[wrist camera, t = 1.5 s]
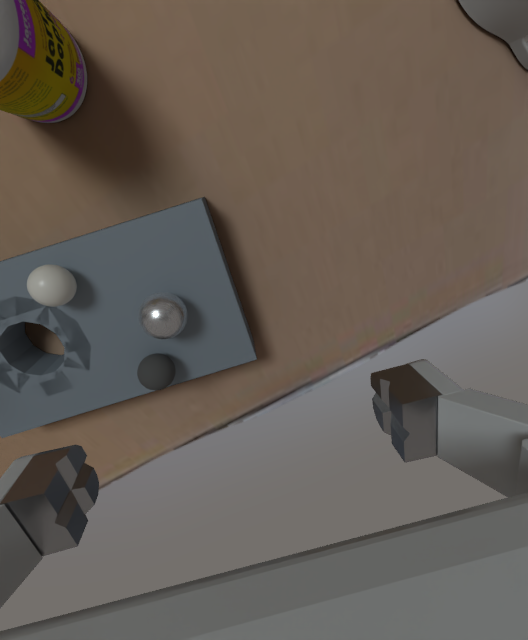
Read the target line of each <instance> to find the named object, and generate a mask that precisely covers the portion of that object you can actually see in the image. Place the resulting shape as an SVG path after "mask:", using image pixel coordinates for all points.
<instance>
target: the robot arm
mask: <svg viewBox="0 0 528 640" xmlns="http://www.w3.org/2000/svg"><path fill="white" fill-rule="evenodd" d="M459 2H460V4H461V6H462V7H463V8H464V10H465V11H466V13H467V14H468V15H469V16H470V17H471V18H472V19H473V20H474V21H475V22H476V23H477V24H478V25H480V26H481V27H482V28H484V29H485V30H487V31H489V32H491V33H493V34H494V35H496V36H498V37H500V38H502V39H503V40H505V41H506V42H507V43H508V44H509V45H510V47H511V49H512V51H513V52H514V54H515V55H516V57H517V59H518V60H519V62H520V63H521V64H522V65H523V66H524V67H525V68H526V69H528V0H459ZM371 386H372V388H373V389H374V390H375V391H376V394H375V395H374V397H373V399H372V400H373V409H374V412H375V415H376V419H377V421H378V423H379V425H380V427H381V428H382V430H383V431H384V432H385V433H387V434H389V435H391V436H392V444H393V446H394V447H395V449H396V450H397V451H398V453H399V454H400V456H401V458H402V459H403V460H404V462H409V461H414V460H418V459H423V458H427V457H432V456H436V455H438V457H439V458H440V459H442V460H444V461H446V462H448V463H449V464H451V465H453V466H454V467H456V468H458V469H460V470H461V471H463V472H465V473H467V474H468V475H470V476H472V477H473V478H475V479H477V480H479V481H480V482H483V483H484V484H486V485H487V486H489V487H491V488H493V489H494V490H496V491H498V492H500V493H501V494H503V495H505V496H507V497H508V498H505V499H501V500H497V501H493V502H490V503H486V504H482V505H479V506H474V507H471V508H467V509H463V510H459V511H455V512H452V513H448V514H444V515H440V516H437V517H433V518H429V519H426V520H421V521H418V522H414V523H410V524H406V525H402V526H399V527H395V528H391V529H387V530H383V531H380V532H376V533H372V534H368V535H364V536H360V537H357V538H353V539H349V540H345V541H341V542H338V543H334V544H330V545H326V546H322V547H319V548H315V549H311V550H307V551H303V552H300V553H296V554H292V555H288V556H285V557H281V558H277V559H273V560H269V561H265V562H262V563H258V564H254V565H250V566H247V567H243V568H239V569H235V570H232V571H228V572H224V573H220V574H216V575H213V576H209V577H205V578H201V579H198V580H193V581H190V582H186V583H182V584H179V585H175V586H171V587H167V588H163V589H159V590H156V591H152V592H148V593H144V594H140V595H137V596H133V597H129V598H125V599H121V600H118V601H114V602H110V603H106V604H102V605H99V606H95V607H91V608H87V609H83V610H80V611H76V612H72V613H68V614H65V615H61V616H57V617H53V618H49V619H46V620H42V621H38V622H34V623H30V624H27V625H23V626H19V627H15V628H11V629H8V630H4V631H0V640H528V405H527V404H524V403H520V402H517V401H513V400H509V399H506V398H502V397H499V396H495V395H491V394H488V393H484V392H481V391H477V390H473V389H466V390H464V389H462V388H461V387H460V386H459V385H457V384H456V383H455V382H454V381H452V380H451V379H450V378H449V377H448V376H446V375H445V374H444V373H443V372H441V371H440V370H439V369H437V368H436V367H435V366H434V365H433V364H431V363H430V362H429V361H427V360H424V359H421V360H418V361H414V362H411V363H407V364H405V365H402V366H397V367H393V368H390V369H386V370H382V371H378V372H374V373H372V374H371ZM86 457H87V455H86V453H85V451H84V450H83V448H82V446H79V445H72V446H67V447H63V448H58V449H54V450H49V451H45V452H40V453H36V454H32V455H28V456H24V457H20V458H18V459H16V460H14V462H13V463H12V464H11V465H10V467H9V468H8V469H7V471H6V472H5V473H4V474H3V476H2V477H1V478H0V608H1V607H2V605H3V604H4V603H5V602H6V601H7V600H8V599H9V597H10V596H11V595H12V594H13V593H14V591H15V590H16V589H17V588H18V587H19V586H20V584H21V583H22V582H23V581H24V580H25V578H26V577H27V576H28V575H29V574H30V572H31V571H32V570H33V569H34V568H35V567H36V565H37V564H38V563H39V562H40V561H41V560H42V556H45V555H49V554H52V553H56V552H59V551H63V550H66V549H70V548H73V547H77V546H78V544H79V541H80V539H81V537H82V534H83V532H84V529H85V527H86V524H87V522H88V519H87V517H86V515H85V514H86V513H87V512H88V510H90V509H91V508H92V507H93V506H94V504H95V502H96V499H97V496H98V490H99V481H98V477H97V474H96V472H95V470H94V468H93V467H91V466H89V465H87V464H86V463H85V460H86Z"/></svg>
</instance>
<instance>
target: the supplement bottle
mask: <svg viewBox="0 0 528 640" xmlns="http://www.w3.org/2000/svg"><path fill="white" fill-rule="evenodd" d="M86 89H87V71H86V66H85V62H84V59H83V56H82V53H81V51H80V49H79V47H78V45H77V43H76V41H75V40H74V38H73V37H72V35H71V34H70V33H69V31H68V30H67V29H66V28H65V27H64V26H63V25H62V24H61V22H60V21H59V20H58V19H57V18H56V17H55V16H54V15H53V14H52V13H51V12H50V11H49V10H48V9H47V8H46V7H45V6H44V5H43V4H42V3H41V2H40V1H39V0H0V110H2V111H5V112H8V113H11V114H14V115H17V116H20V117H23V118H26V119H29V120H32V121H36V122H41V123H55V122H59V121H62V120H65V119H67V118H68V117H70V116H71V115H73V114H74V113H75V112H76V111H77V110H78V108H79V107H80V106H81V104H82V102H83V100H84V97H85V94H86Z"/></svg>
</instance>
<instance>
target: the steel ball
mask: <svg viewBox="0 0 528 640" xmlns="http://www.w3.org/2000/svg"><path fill="white" fill-rule="evenodd" d="M187 318H188V313H187V309H186V306H185V304H184V303H183V301H182V300H181V299H180V298H179V297H177V296H176V295H174V294H171V293H168V292H157V293H154V294H152V295H150V296H148V297H147V298H146V299H145V300H144V301H143V302H142V303H141V305H140V307H139V311H138V321H139V324H140V326H141V328H142V329H143V331H144V332H145V333H146V334H148V335H149V336H151V337H153V338H156V339H170V338H173V337H175V336H177V335H178V334H179V333H180V332H181V331H182V330H183V329H184V327H185V325H186V323H187Z"/></svg>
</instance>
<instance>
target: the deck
mask: <svg viewBox="0 0 528 640" xmlns="http://www.w3.org/2000/svg"><path fill="white" fill-rule="evenodd" d="M50 264H51V265H58V266H61V267H63V268H65V269H67V270H68V271H69V272H70V273H71V274H72V275H73V276H74V278H75V280H76V284H77V289H76V293H75V295H74V297H73V298H72V299H71V300H70V301H69V302H68V303H66V304H64V305H61V306H56V307H50V306H45V305H42V304H40V303H38V302H37V301H35V300H34V299H33V298H32V297H31V295H30V294H29V292H28V289H27V280H28V277H29V275H30V274H31V272H32V271H33V270H35V269H36V268H38V267H40V266H43V265H50ZM157 292H168V293H171V294H174V295H176V296H177V297H179V298H180V299H181V300H182V301H183V303H184V304H185V306H186V309H187V313H188V318H187V323H186V325H185V327H184V329H183V330H182V331H181V332H180V333H179V334H178V335H177V336H175V337H173V338H170V339H156V338H153V337H151V336H149V335H148V334H146V333H145V332H144V331H143V329H142V328H141V326H140V324H139V321H138V311H139V307H140V305H141V303H142V302H143V301H144V300H145V299H146V298H147V297H148V296H150V295H152V294H154V293H157ZM25 322H30V323H36V324H42V325H43V326H45V327H46V328H48V329H49V330H51V331H52V332H54V333H56V334H57V336H58V337H59V339H60V341H61V342H62V344H63V346H64V347H65V353H64V354H63V355H55V354H49V353H45V352H43V351H42V350H40V349H39V348H37V347H35V346H34V345H33V344H32V343H31V341H30V340H29V338H28V337H27V335H26V334H25ZM156 353H159V354H164V355H166V356H168V357H169V358H170V359H171V360H172V361H173V363H174V365H175V369H176V373H175V377H174V380H173V381H172V383H171V384H170V385H169V386H172V385H175V384H179V383H182V382H185V381H188V380H192V379H195V378H198V377H201V376H205V375H208V374H211V373H214V372H217V371H221V370H224V369H227V368H230V367H234V366H237V365H240V364H243V363H247V362H250V361H253V360H256V359H257V357H256V351H255V346H254V341H253V338H252V335H251V332H250V329H249V326H248V323H247V320H246V317H245V314H244V311H243V308H242V305H241V302H240V299H239V297H238V294H237V291H236V288H235V285H234V282H233V279H232V276H231V273H230V270H229V267H228V264H227V261H226V258H225V255H224V252H223V250H222V247H221V244H220V241H219V238H218V235H217V232H216V229H215V226H214V223H213V220H212V217H211V214H210V211H209V208H208V205H207V203H206V200H205V197H202V198H199V199H196V200H193V201H190V202H186V203H183V204H180V205H177V206H174V207H171V208H167V209H164V210H161V211H158V212H155V213H152V214H148V215H145V216H142V217H139V218H136V219H133V220H130V221H126V222H123V223H120V224H117V225H114V226H111V227H107V228H104V229H101V230H98V231H95V232H92V233H88V234H85V235H82V236H79V237H76V238H73V239H69V240H66V241H63V242H60V243H57V244H54V245H50V246H47V247H44V248H41V249H38V250H35V251H31V252H28V253H25V254H22V255H19V256H16V257H12V258H9V259H6V260H3V261H0V436H1V437H2V438H4V437H7V436H10V435H13V434H17V433H20V432H23V431H26V430H30V429H33V428H36V427H39V426H43V425H46V424H49V423H52V422H55V421H59V420H62V419H65V418H68V417H72V416H75V415H78V414H81V413H85V412H88V411H91V410H94V409H98V408H101V407H104V406H107V405H111V404H114V403H117V402H120V401H124V400H127V399H130V398H133V397H136V396H140V395H143V394H146V393H149V392H153V391H156V390H150V389H147V388H145V387H144V386H143V385H142V384H141V383H140V381H139V379H138V376H137V370H138V366H139V364H140V362H141V361H142V360H143V359H144V358H145V357H147V356H148V355H151V354H156ZM169 386H167V387H169Z"/></svg>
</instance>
